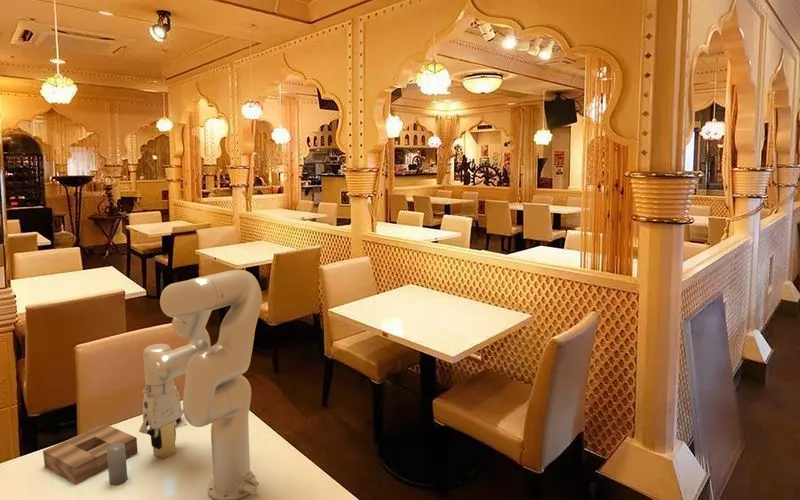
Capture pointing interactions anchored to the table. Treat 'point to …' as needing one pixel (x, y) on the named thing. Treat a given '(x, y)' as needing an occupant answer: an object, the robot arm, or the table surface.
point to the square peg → (166, 441)
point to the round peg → (117, 463)
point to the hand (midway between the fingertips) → (164, 443)
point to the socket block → (87, 453)
